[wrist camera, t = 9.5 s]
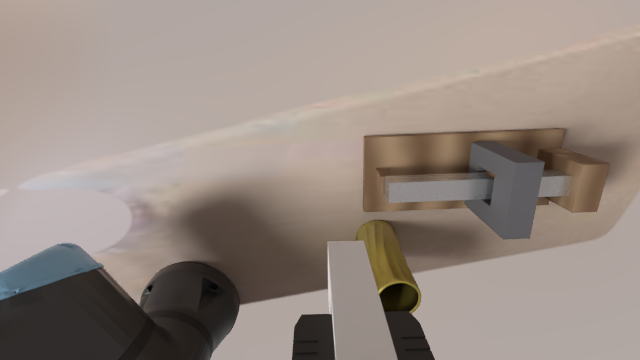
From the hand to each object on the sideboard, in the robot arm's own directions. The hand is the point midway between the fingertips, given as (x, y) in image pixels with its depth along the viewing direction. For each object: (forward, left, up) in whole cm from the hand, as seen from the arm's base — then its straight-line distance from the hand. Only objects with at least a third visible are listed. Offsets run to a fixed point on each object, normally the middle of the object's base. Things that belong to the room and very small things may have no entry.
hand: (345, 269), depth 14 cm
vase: (+7, -17, -32) cm, 37 cm away
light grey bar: (+18, -6, -27) cm, 33 cm away
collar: (+21, -6, -30) cm, 37 cm away
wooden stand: (+18, -6, -32) cm, 38 cm away
